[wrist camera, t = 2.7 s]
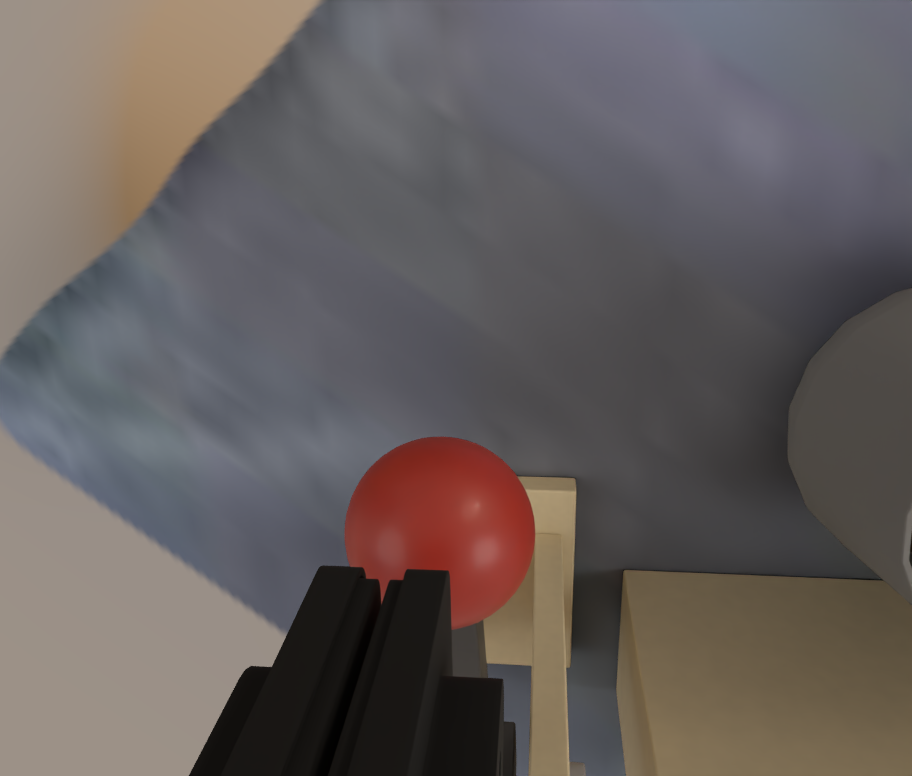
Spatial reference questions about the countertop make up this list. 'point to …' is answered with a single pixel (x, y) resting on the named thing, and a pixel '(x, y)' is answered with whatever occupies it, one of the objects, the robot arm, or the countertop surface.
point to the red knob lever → (447, 536)
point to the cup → (861, 438)
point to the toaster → (763, 676)
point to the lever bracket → (543, 624)
